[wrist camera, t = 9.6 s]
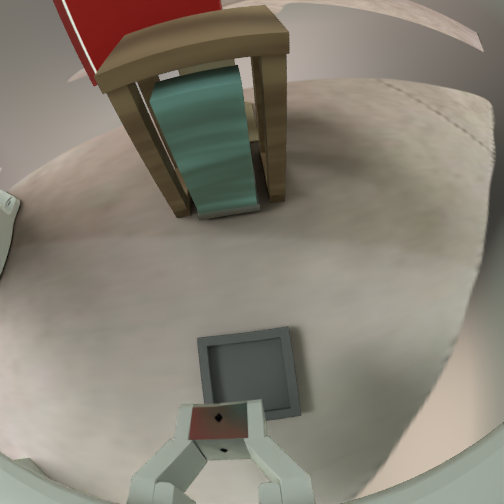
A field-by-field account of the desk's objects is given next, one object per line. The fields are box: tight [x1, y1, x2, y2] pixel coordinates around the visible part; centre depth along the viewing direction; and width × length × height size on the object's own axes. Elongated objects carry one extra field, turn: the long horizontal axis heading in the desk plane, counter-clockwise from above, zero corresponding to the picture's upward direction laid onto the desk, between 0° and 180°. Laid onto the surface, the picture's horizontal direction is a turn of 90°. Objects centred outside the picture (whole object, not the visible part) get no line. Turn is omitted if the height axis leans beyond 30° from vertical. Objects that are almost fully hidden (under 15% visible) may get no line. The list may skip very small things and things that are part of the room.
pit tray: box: [197, 327, 301, 421], centre depth 16 cm, size 6×6×1 cm
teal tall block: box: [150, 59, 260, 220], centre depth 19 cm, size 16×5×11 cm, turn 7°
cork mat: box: [244, 101, 259, 142], centre depth 26 cm, size 7×7×1 cm
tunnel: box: [94, 5, 289, 218], centre depth 17 cm, size 6×9×14 cm
